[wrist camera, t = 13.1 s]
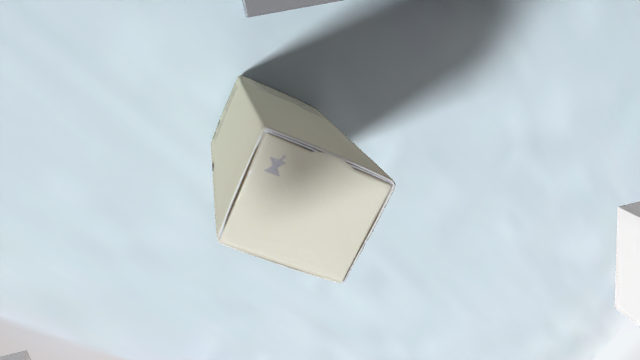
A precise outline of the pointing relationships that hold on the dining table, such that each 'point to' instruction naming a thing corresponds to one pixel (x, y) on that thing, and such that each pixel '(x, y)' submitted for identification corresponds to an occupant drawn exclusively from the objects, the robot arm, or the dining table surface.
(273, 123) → the box
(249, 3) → the socket block
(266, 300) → the dining table surface
